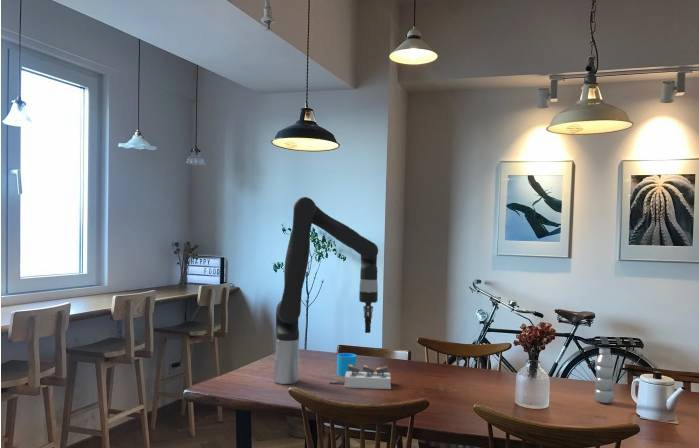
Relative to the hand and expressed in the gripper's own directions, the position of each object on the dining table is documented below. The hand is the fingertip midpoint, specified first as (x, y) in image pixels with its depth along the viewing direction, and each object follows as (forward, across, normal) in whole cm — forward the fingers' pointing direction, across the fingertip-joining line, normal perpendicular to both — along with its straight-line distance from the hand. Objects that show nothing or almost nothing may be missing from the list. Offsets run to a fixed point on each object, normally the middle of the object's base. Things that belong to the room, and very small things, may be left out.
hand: (367, 332), depth 219 cm
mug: (+20, -14, -8) cm, 26 cm away
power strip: (+20, +4, -3) cm, 21 cm away
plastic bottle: (+21, +17, +88) cm, 92 cm away
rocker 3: (+15, +3, +6) cm, 17 cm away
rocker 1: (+15, +3, -6) cm, 16 cm away
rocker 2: (+15, +3, 0) cm, 15 cm away
